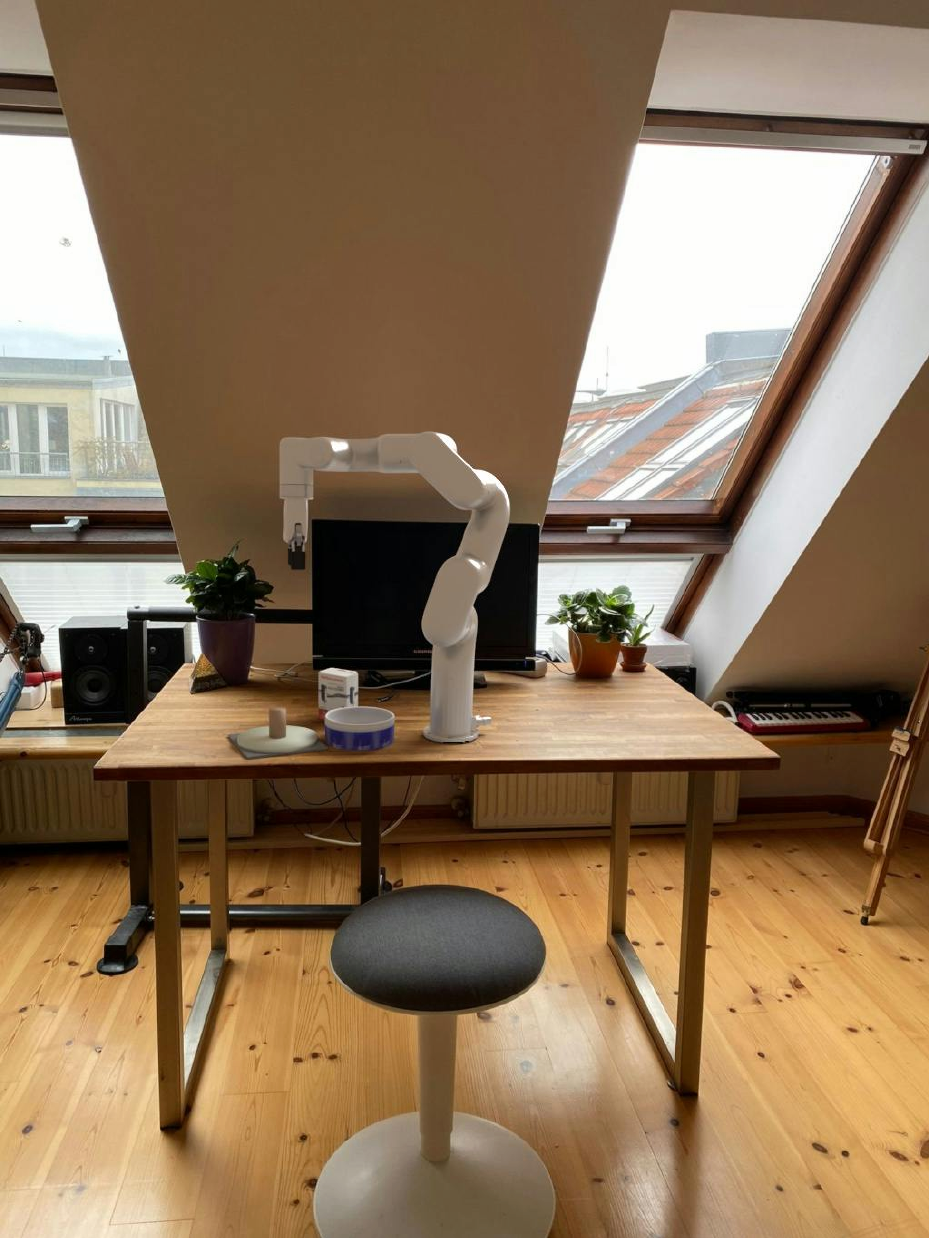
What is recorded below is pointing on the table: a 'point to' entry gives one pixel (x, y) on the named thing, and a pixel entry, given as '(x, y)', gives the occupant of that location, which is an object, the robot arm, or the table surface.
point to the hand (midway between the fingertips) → (296, 567)
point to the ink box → (337, 690)
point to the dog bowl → (359, 728)
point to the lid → (277, 735)
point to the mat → (254, 755)
